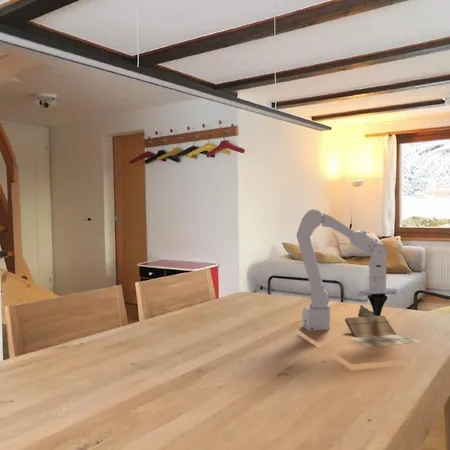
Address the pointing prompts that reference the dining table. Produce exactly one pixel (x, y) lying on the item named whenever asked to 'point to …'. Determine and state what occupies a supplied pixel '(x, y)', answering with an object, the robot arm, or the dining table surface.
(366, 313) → the rock
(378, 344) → the beige grooved panel
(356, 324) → the plank
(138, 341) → the dining table surface
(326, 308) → the robot arm
